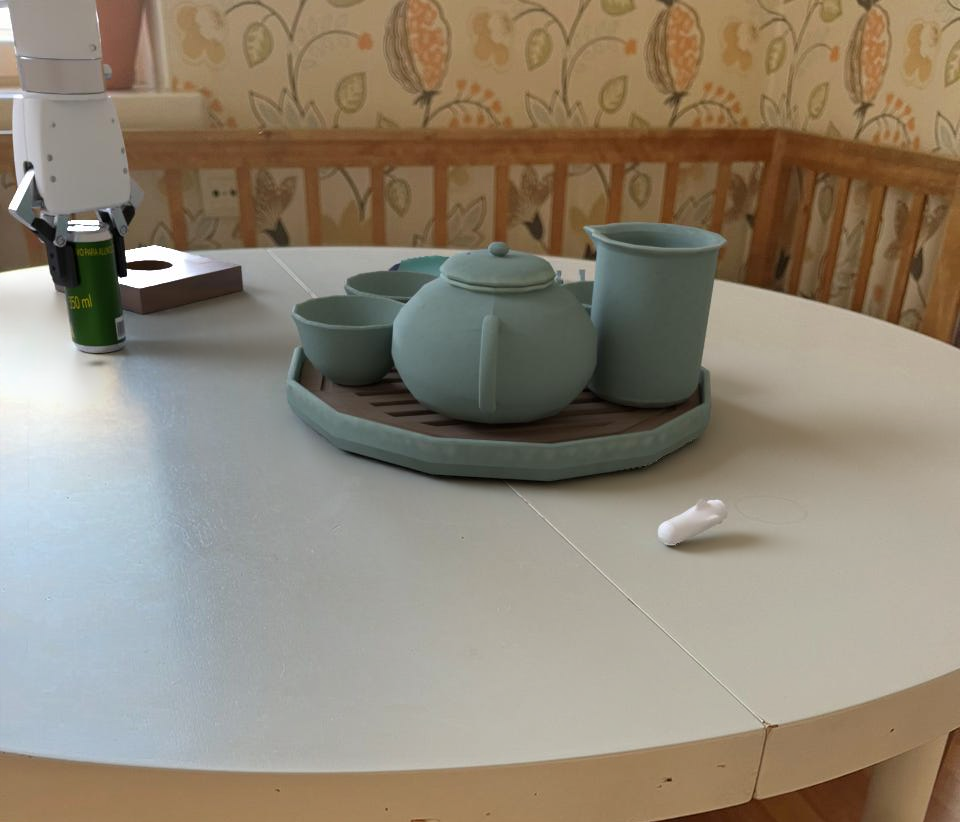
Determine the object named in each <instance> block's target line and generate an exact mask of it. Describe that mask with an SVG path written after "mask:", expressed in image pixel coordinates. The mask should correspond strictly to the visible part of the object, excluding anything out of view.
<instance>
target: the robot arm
mask: <svg viewBox="0 0 960 822" xmlns="http://www.w3.org/2000/svg"><path fill="white" fill-rule="evenodd" d="M4 10H8V17H9V24H10V29H11V35H12V42H13V48H14V49H13V50H14V54H15V64H16V67H17V68H16V69H17V75H18V80H19V81H18V82H19V86H20V93H21V94H16V95H13V100H12V115H11V118H12V119H11V121H12V122H11V123H12V124H11V125H12V128H11V129H12V131H11V132H12V146H13V147H12V149H13V160H14V168H15V169H14V170H15V178H16V184H17V190H16V191H15V193H14V196H13V198H12V200H11V202H10V204H9V207H8V213H9V214H10V215H11V216H12V217H13V218H15V219H16V220H17V221H19V222H20V223H21V224H23V225H24V226H25V227H26V228H27V229H28V230H29V231H30V232H31V233H33V234H34V235H35V236H36V237H37V238H38V240H39V241H40V242H41V243H43V244H44V245H45V251H46V259H47V265H48V269H49V274H50V276H51V280H52V282H53V284H54V283H55V284H57V285H60V286H64V287H67V288H71V289H72V288H76V287H77V286H78V280H77V273H76V267H75V260H74V253H73V248H72V246H69V245H66V240H67V231H68V223H69V221H70V215H71V214H77V213H78V214H79V213H83V212H93V211H94V213H95V215H96V218H97V221H99V222H104V223H107V224H109V227H110V228H109V230H110V231H111V233H112V235H113V239H114V247H115V255H116V262H117V270H118V277H119V278H126V277H127V276H128V273H127V260H126V252H125V251H126V245H125V237H126V236H128V234H129V232H130V231H129V226H130V224H131V223H132V220H133V219H134V217H135V215H136V211H137V210H138V209H139V207H140V206H141V204H142V203H143V201H144V199H145V197H146V194H145V191H144V190H143V189H142V188H141V187H140V185H139V184H138V183H137V182H136V180H135V179H134V178H133V177H132V176H131V174H130V169H129V163H128V156H127V150H126V145H125V140H124V136H123V131H122V128H121V123H120V119H119V115H118V112H117V108H116V106H115V102H114V100H113V97H112V96H111V95H110V94H108V92H107V83H106V80H108V81H109V80H111V79H112V78H113V69H112V67H111V66H110V65H109V64H108V63H104V58H103V51H102V42H101V33H100V26H99V25H100V24H99V17H98V9H97V1H96V0H0V11H4ZM34 209H35V210H36V209H37V210H38V209H40V212H39V215H37V214H36V212H34ZM55 284H54V285H55Z"/></svg>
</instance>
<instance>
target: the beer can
mask: <svg viewBox="0 0 960 822" xmlns="http://www.w3.org/2000/svg"><path fill="white" fill-rule="evenodd" d="M109 228H110V227H109V224H107V223H104V222H99V220H71V221H70V220H69V223H68V231H67V240H66V245H69V246H72V248H73V253H74V260H75V267H76V273H77V280H78V286H77V287H76V288H72V289H71V288H67V287H64V291H65V293H64V297H65V303H66V309H67V317H68V322H69V328H70V334H71V335H70V336H71V342H72V343H73V344H74V345H75V347H76V349H78V350H79V351H81V352H85V353H92V354H105V353H112V352H116V351H119V350H121V349H122V348H124V347H125V344H126V340H127V333H126V326H125V318H124V311H123V310H124V309H122V301H121V294H120V286H119V278H118V270H117V262H116V255H115V247H114V239H113V235H112V233H111V231H110V230H109Z"/></svg>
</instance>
